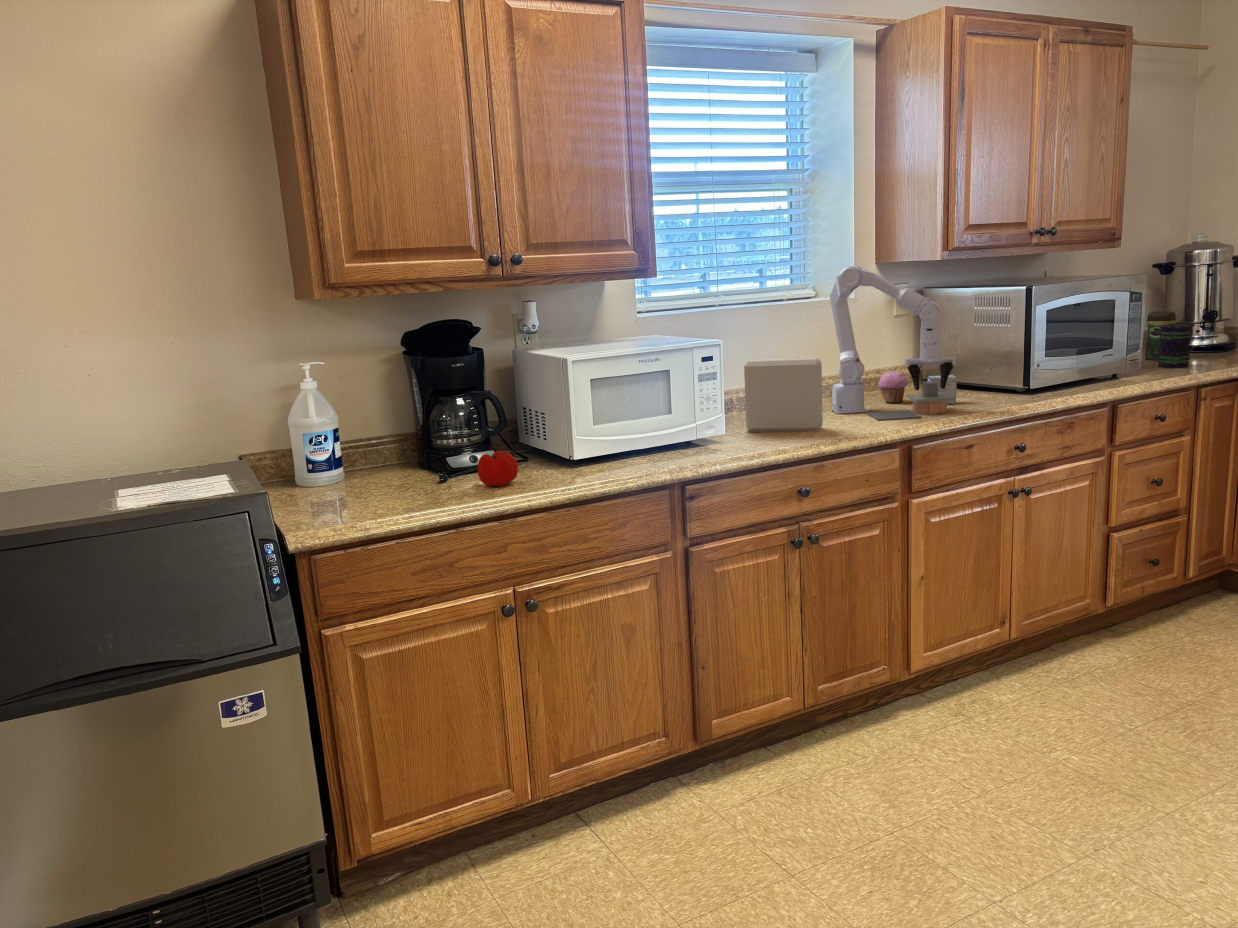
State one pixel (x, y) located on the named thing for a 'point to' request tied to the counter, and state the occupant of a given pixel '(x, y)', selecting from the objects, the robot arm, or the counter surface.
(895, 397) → the cupcake
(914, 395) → the lid
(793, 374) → the taupe bevelled box
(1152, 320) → the coffee jar
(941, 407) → the bowl
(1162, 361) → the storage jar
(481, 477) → the tomato
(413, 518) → the counter surface
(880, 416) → the mat
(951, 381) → the medicine box
